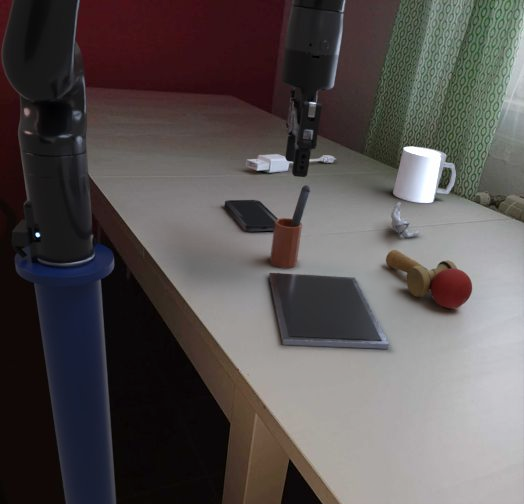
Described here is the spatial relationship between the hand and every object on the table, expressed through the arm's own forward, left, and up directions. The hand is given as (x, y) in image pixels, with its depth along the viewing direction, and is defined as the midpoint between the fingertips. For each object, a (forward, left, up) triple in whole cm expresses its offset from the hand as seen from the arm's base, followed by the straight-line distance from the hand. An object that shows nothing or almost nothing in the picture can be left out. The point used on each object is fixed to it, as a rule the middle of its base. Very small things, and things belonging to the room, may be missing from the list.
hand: (295, 168), depth 82 cm
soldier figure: (+26, +19, -16) cm, 36 cm away
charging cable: (+10, +64, -16) cm, 67 cm away
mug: (+39, +45, -16) cm, 62 cm away
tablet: (+4, -16, -16) cm, 23 cm away
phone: (-4, +21, -16) cm, 27 cm away
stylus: (0, 0, -15) cm, 15 cm away
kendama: (+22, -7, -16) cm, 28 cm away
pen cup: (0, 0, -16) cm, 16 cm away
